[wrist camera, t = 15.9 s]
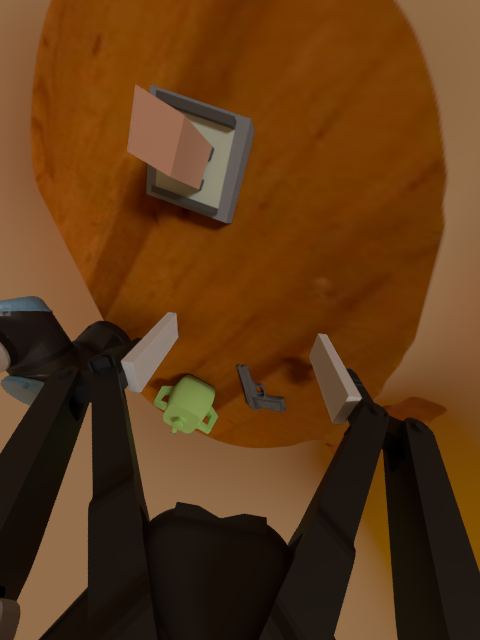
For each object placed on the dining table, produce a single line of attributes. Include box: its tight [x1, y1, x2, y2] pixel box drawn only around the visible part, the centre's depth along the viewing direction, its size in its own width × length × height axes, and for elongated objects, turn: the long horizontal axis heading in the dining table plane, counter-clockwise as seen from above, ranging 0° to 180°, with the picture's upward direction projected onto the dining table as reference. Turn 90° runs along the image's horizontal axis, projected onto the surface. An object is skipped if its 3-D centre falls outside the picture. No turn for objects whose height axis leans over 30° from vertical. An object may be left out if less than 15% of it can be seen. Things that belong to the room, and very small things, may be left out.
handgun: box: [236, 365, 286, 412], centre depth 55 cm, size 18×2×12 cm
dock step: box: [146, 85, 255, 223], centre depth 31 cm, size 16×14×6 cm
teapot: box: [153, 375, 218, 434], centre depth 58 cm, size 18×20×13 cm
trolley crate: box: [127, 84, 214, 190], centre depth 26 cm, size 6×6×10 cm
